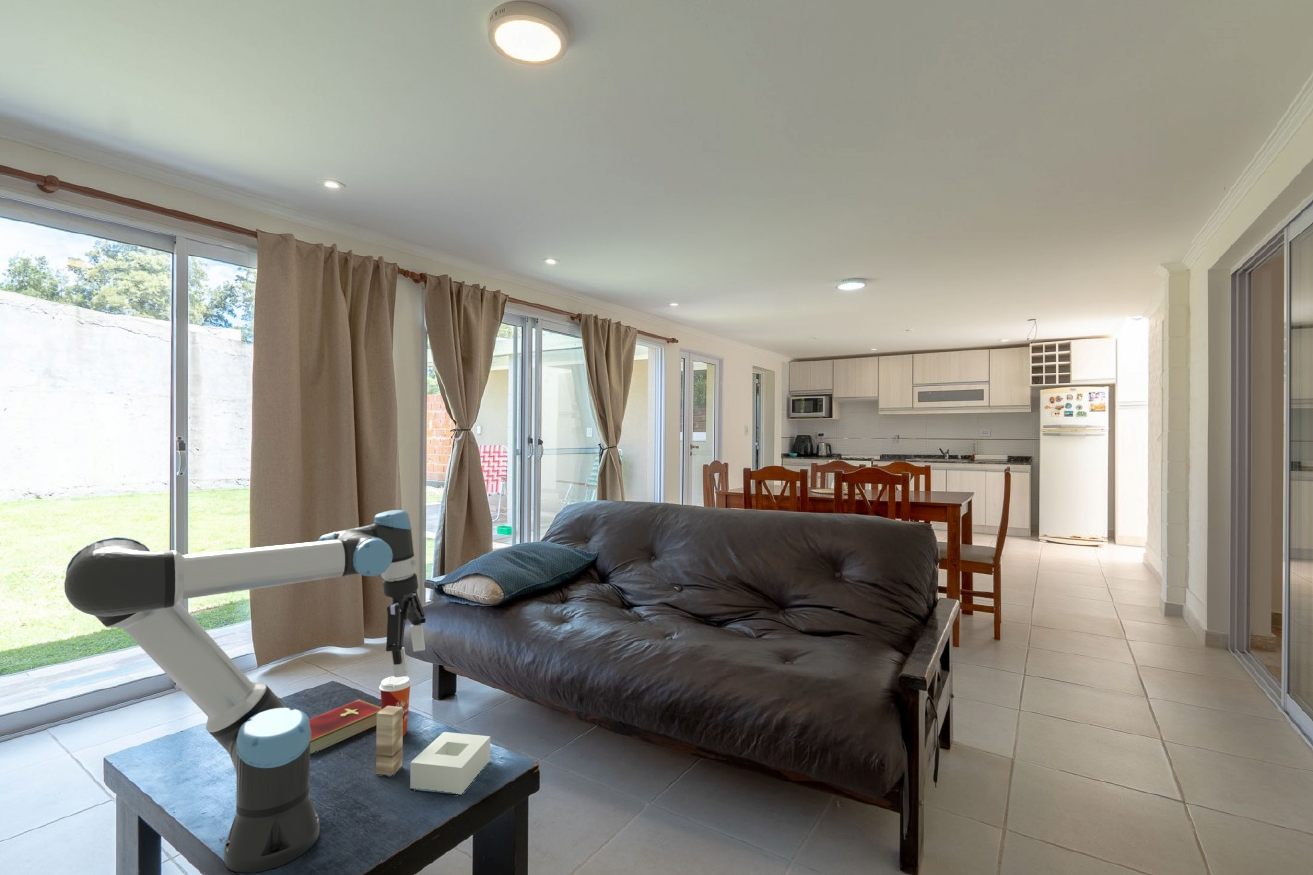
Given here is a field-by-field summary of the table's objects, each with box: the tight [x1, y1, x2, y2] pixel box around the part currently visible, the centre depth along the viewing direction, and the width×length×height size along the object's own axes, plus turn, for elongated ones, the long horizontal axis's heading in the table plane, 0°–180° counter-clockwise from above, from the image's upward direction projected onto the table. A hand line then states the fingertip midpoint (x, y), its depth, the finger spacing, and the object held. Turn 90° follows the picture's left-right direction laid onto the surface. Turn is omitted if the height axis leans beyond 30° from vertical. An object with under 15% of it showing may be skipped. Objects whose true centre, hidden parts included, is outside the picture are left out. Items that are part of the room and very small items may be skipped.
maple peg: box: [375, 706, 404, 775], centre depth 139 cm, size 4×4×14 cm
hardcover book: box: [309, 699, 382, 754], centre depth 157 cm, size 12×21×4 cm, turn 150°
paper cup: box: [379, 675, 412, 737], centre depth 156 cm, size 8×8×14 cm
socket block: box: [409, 731, 491, 794], centre depth 137 cm, size 14×12×6 cm
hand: (410, 662), depth 144 cm, fingers open, 13 cm apart
